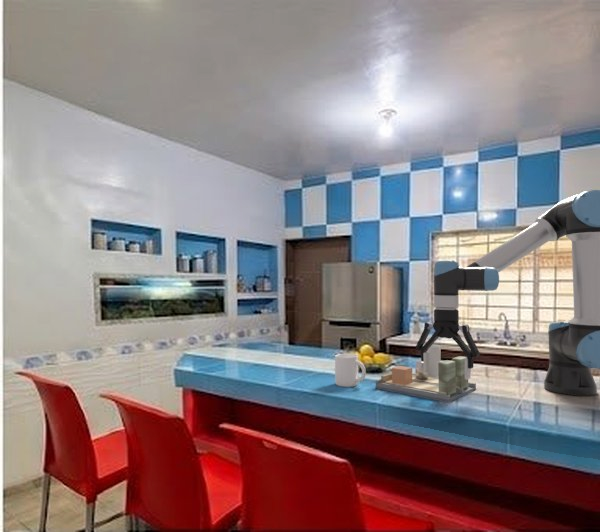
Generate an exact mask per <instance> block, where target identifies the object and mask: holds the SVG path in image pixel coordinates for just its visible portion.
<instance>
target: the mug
mask: <svg viewBox="0 0 600 532" xmlns="http://www.w3.org/2000/svg"><path fill="white" fill-rule="evenodd" d="M359 367H360V369H361V376H360V377H359ZM366 374H367V371H366V367H365V365H364V363H363V362H361V361H360V360H359V355H357V354H356V353H355V354H353V353H338V354H335V355H334V380H335V385H336V386H338V387H343V388H352V387H356V386H358V385H359V383H361V382H363V381H364V380H365V378H366Z"/></svg>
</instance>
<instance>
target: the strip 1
mask: <svg viewBox="0 0 600 532" xmlns="http://www.w3.org/2000/svg"><path fill="white" fill-rule="evenodd" d="M380 379H381V383H385V384H391V385H396V386H402V387H408V388H413V389H419V390H424V391H430V392H435V393H441V394H446V395H452V394H454V393H456V374H455V361H452V360H448V359H446V360H441V362H439V363H438V379H439V386H436V385H430V384H424V383H418V382H412V383H409V384H407V385H402V384H397V383H392V372H390V373H387V374H384V375H381V378H380Z"/></svg>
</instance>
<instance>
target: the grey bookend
mask: <svg viewBox="0 0 600 532" xmlns="http://www.w3.org/2000/svg"><path fill="white" fill-rule="evenodd" d="M424 345H425V344H424ZM424 345H423V346H424ZM441 349H442V348H441V345H438V344H432V345H431V347H430V348H429V349H428V351H426V352H429V372H428V376H431V377H438V363H439V362H442V360H441V357H442V356H441V355H442V354H441Z"/></svg>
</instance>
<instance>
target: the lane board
mask: <svg viewBox="0 0 600 532" xmlns="http://www.w3.org/2000/svg"><path fill="white" fill-rule="evenodd" d="M412 375H416V374H415V373H412ZM428 377H431V376H428ZM431 378H438V377H431ZM412 382H418V383H424V384H430V385H436V386H439V385H437V384H431V383H425V382H419V381H413V380H412ZM375 389H378V390H383V391H388V392H392V393H397V394H403V395H408V396H414V397H418V398H425V399H428V400H434V401H440V402H444V403H451V402H453V401H454V400H457V399H460V398H461V397H464V396H465V395H467V394H469V393H471V392H474V391H476V390H475V389H477V383H476V382H475V383H474V382H469V381H468V387H467V388H465V389H461V388H456V393H454V394H452V395H446V394H441V393H435V392H430V391H424V390H419V389H413V388H408V387H402V386H396V385H391V384H385V383H381V378H379V379H376V380H375ZM473 390H474V391H473Z"/></svg>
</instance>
